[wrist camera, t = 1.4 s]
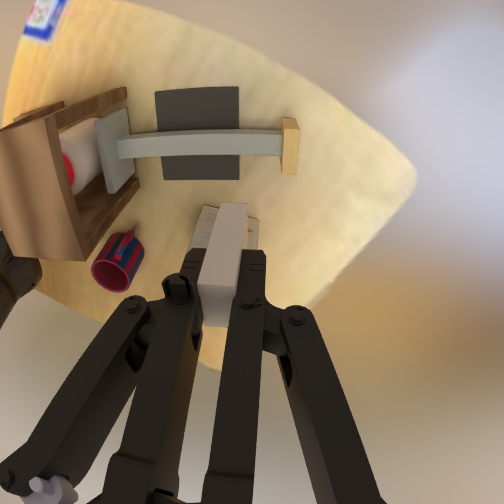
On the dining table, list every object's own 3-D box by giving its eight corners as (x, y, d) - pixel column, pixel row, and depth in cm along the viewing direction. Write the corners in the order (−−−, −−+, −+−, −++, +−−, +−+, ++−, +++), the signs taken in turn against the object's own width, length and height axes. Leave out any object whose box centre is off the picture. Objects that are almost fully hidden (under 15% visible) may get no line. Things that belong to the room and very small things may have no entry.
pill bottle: (65, 138, 33) (17, 170, 24) (98, 106, 30) (47, 131, 22) (93, 177, 37) (52, 218, 28) (128, 150, 35) (87, 186, 26)
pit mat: (164, 178, 37) (164, 180, 37) (155, 91, 30) (154, 92, 29) (239, 178, 37) (238, 179, 36) (238, 86, 29) (238, 86, 29)
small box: (194, 238, 43) (173, 304, 33) (203, 203, 39) (180, 265, 29) (246, 253, 44) (240, 321, 34) (260, 219, 40) (256, 286, 30)
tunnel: (40, 194, 39) (-17, 253, 26) (21, 114, 30) (-53, 157, 17) (139, 187, 38) (85, 261, 25) (125, 86, 29) (44, 118, 16)
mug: (103, 250, 45) (86, 276, 40) (124, 210, 40) (105, 237, 35) (134, 270, 48) (121, 298, 43) (160, 234, 43) (146, 264, 38)
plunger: (129, 171, 36) (108, 193, 31) (119, 108, 30) (93, 121, 25) (290, 170, 35) (295, 194, 30) (295, 101, 30) (301, 110, 25)
